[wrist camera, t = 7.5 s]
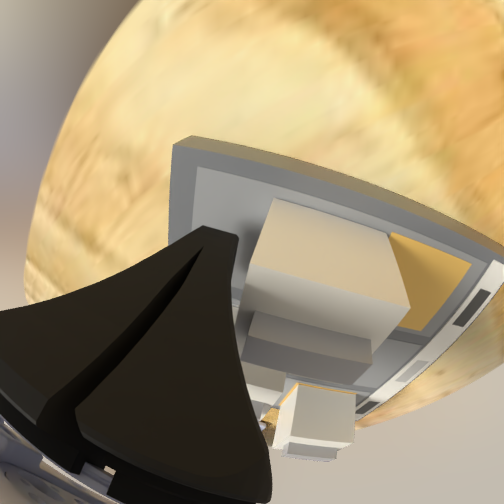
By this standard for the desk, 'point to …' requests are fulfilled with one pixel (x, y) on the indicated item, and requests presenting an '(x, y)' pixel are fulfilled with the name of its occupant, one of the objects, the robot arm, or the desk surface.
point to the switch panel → (356, 210)
